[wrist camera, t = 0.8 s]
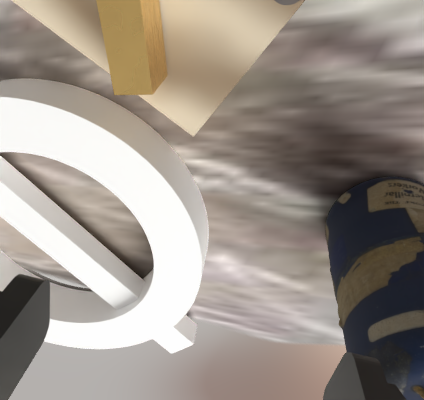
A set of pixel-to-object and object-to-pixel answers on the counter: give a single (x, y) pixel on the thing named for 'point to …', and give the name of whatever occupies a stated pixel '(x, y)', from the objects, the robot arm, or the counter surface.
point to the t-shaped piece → (133, 45)
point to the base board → (182, 46)
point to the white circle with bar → (81, 239)
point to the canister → (381, 276)
